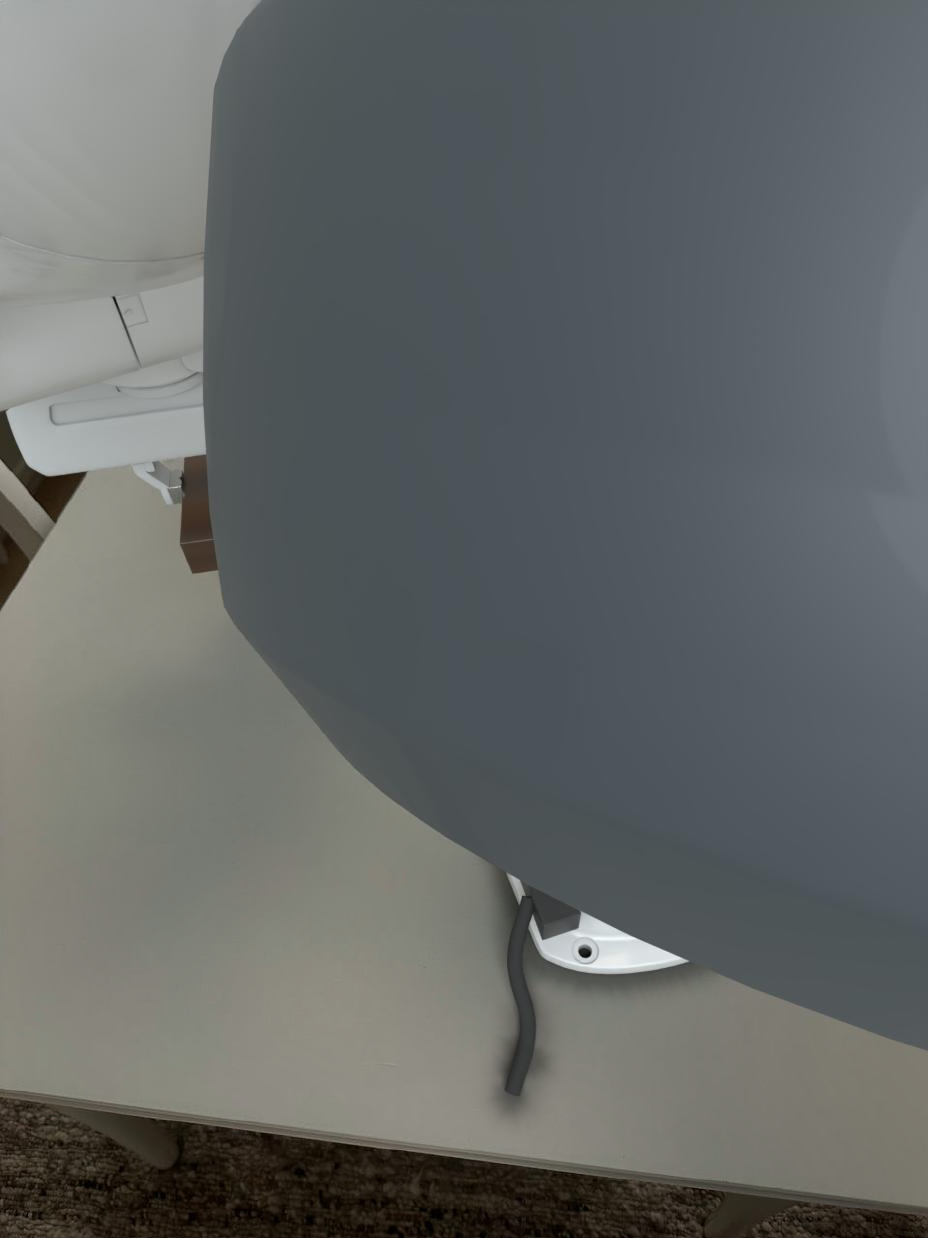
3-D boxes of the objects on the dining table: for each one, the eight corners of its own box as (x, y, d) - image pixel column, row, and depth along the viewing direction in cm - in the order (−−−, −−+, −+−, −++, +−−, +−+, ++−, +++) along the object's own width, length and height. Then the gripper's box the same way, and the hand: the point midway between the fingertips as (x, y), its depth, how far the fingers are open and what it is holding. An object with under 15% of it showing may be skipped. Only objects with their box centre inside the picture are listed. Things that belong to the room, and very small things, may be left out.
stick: (236, 567, 59) (225, 537, 57) (192, 574, 59) (179, 543, 56) (236, 454, 66) (226, 423, 64) (197, 459, 66) (185, 428, 64)
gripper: (-48, 374, 48) (55, 547, 59) (321, 326, 49) (354, 503, 60) (-26, 312, 52) (66, 485, 62) (314, 270, 53) (346, 445, 64)
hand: (209, 493), depth 61 cm, fingers closed on stick, 3 cm apart
